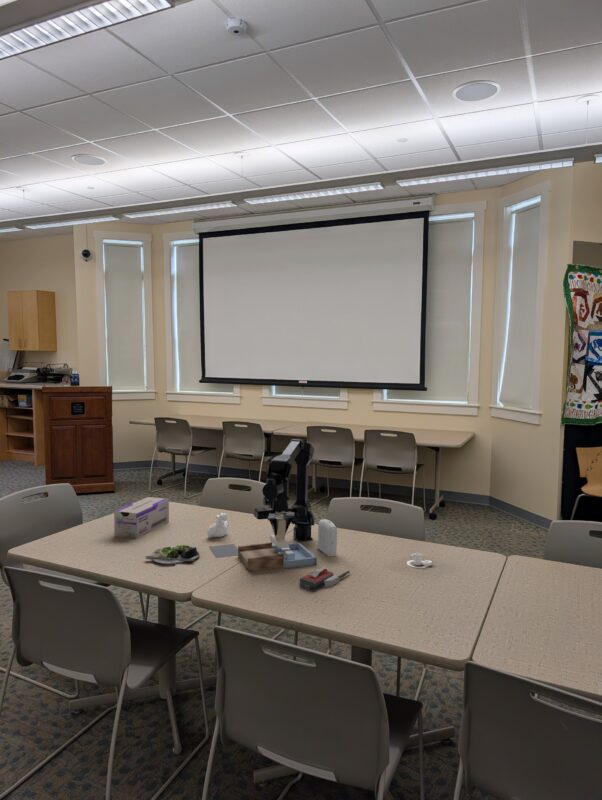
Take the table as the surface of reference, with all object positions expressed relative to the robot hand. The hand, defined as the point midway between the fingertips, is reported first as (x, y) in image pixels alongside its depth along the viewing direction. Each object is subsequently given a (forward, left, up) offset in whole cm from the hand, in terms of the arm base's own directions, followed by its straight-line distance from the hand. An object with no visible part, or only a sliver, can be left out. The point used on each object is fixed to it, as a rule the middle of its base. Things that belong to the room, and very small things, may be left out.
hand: (279, 534), depth 202 cm
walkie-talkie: (-8, +23, -10) cm, 27 cm away
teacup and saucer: (-46, +23, -10) cm, 53 cm away
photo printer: (-20, -2, -10) cm, 22 cm away
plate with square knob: (0, 0, -3) cm, 3 cm away
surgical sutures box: (+44, -55, -10) cm, 71 cm away
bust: (+15, -34, -10) cm, 38 cm away
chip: (-2, -3, -8) cm, 8 cm away
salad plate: (+35, -15, -10) cm, 39 cm away
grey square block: (-2, +3, -8) cm, 8 cm away
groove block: (+7, 0, -9) cm, 12 cm away
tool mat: (+17, -15, -9) cm, 25 cm away
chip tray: (-5, 0, -9) cm, 11 cm away
